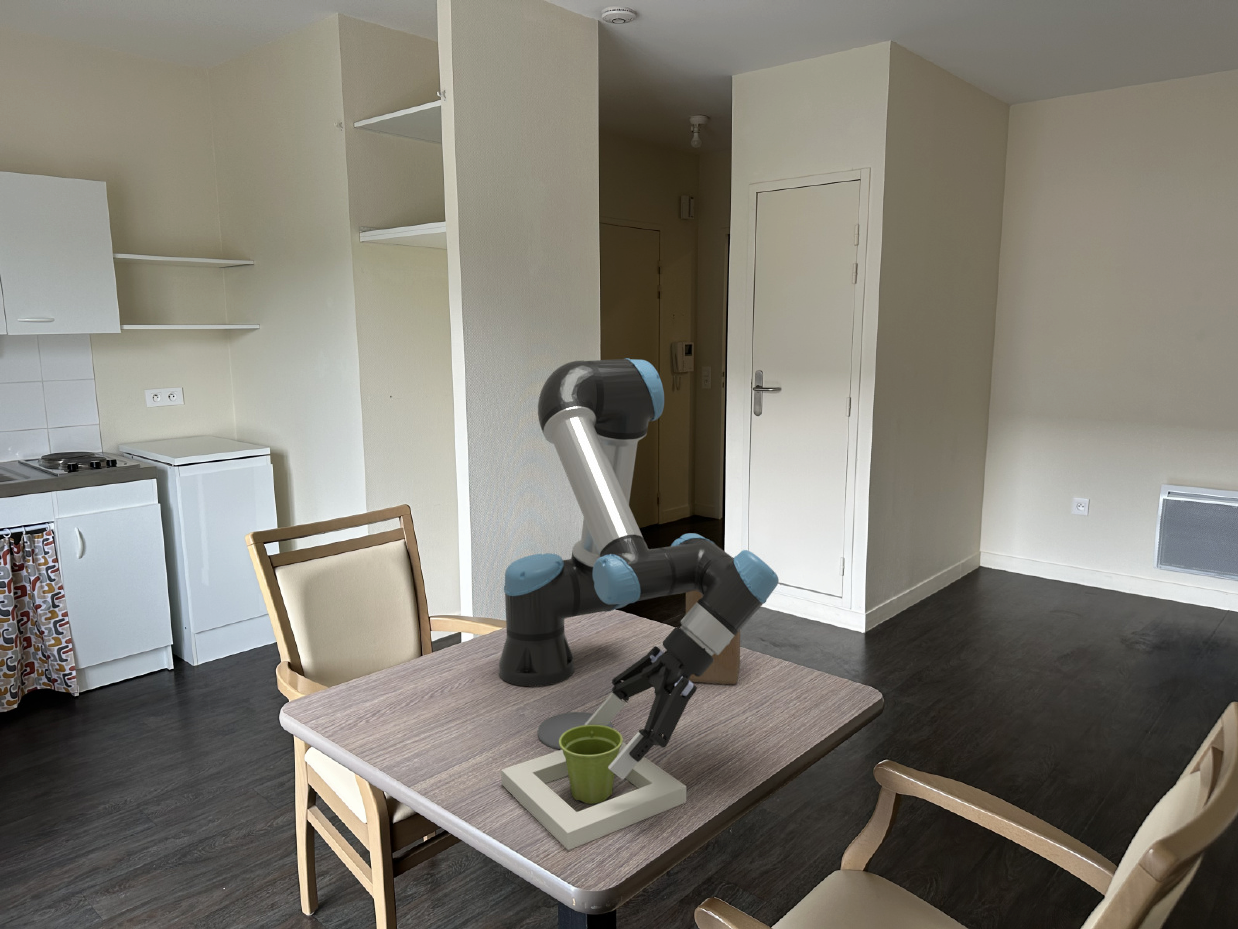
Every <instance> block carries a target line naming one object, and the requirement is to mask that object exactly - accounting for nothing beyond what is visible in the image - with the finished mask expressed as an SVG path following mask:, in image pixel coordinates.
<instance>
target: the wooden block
mask: <svg viewBox="0 0 1238 929" xmlns="http://www.w3.org/2000/svg"><path fill="white" fill-rule="evenodd" d="M702 596H703V595H702V594H701V593H700V592H698V591H691V592H686V593H685V615H686V614H687V613H688V612H689V611H690V609H691V608H692V607H693V606H694V605H695V604H696V602H697V603H698V600H699V599H700V598H701V597H702ZM698 604H699V603H698ZM699 605H700V604H699ZM732 634H733V633H732ZM733 635H734V634H733ZM712 657H713V658H714V659H713V663H712V664H711V665H710V666H709V667H708V668H707V670H706V671H705V672H704V673H703V674H702V675H701V676H700V677H697V676H695V675H694V674H692V675H691V676H690V678H689V681H690V682H692V683H706V684H721V685H735V684H736V683H737V682H738V678H739V673H740V671H739V670H740V666H741V629H740V630H739V632H738V633H737V634H736V635H734V637H733V638H732V640H731V641H730V644H729V645H727V646H726V647H725V648H724V649H723V650H722V652H721V653H720V654H719V655H716V654H713V655H712Z"/></svg>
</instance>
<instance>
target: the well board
mask: <svg viewBox="0 0 1238 929" xmlns="http://www.w3.org/2000/svg"><path fill="white" fill-rule="evenodd" d="M627 744H628V743H625V742H624V741H623V743H622V745H621V747H620V748H619V753H618V754H617V756H618V755H619V754H620V752H621V751H622V750H623V749H624V748H625V747H626V745H627ZM500 774H501V775H500V776H501V786H502V785H503V786H504V787H505V788H506V789H507V790H508V791H509V792H510V793H511V794H512V795H513V796H512V795H511V794H510V793H509V792H508V791H507V790H506V789H505V788H504V787H503V786H502V787H503V788H504V789H505V790H506V791H507V792H508V793H509V794H510V795H511V796H512V797H513V798H514V797H515V798H516V799H517V801H518V803H519V804H520V805H521V806H522V807H524V809H526V810H527V812H529V813H530V814H531V815H532V816H533V818H535V820H537V821H538V822H539V824H541V825H542V826H543V827H544V828H545V829H546V830H547V831H548V833H550V834H551V835H552V836H553V837H554V839H556V840H557V841H558V842H559V843H560V844H561V846H563V847H564V848H565V849H566V850H567V851H570V850H572V849H575V848H577V847H580V846H583V845H584V844H585V845H586V844H588V843H589V842H592V841H595V840H597V839H599V838H602V837H604V836H607V835H610V834H611V833H614V832H616V831H619V830H622V829H623V828H627V827H629V826H631V825H634V824H637V823H639V822H641V821H643V820H646V819H649V818H651V817H654V816H655V815H658V814H661V813H663V812H666V811H668V810H671V809H673V808H675V807H678V806H680V805H683V804H686V803H687V786H686V785H685V784H684V783H682V782H681V781H679V779H676V778H675V777H673V776H672V775H671V774H669V773H668V772H666V771H665V770H663V769H662V767H659V766H658V765H657V764H655V763H654V762H653V761H651V760H650V759H648V758H647V757H645V756H644V757H643V758H642V759H641V760H640V761H639V762H638V763H637V764H636V765H635V767H634V768H633V769H632V770H631V771H630V772H629V774H628V775H627V776H626V777H625V778H624V779H626V780H627V781H628V782H630V784H633V785H634V787H637V789H635V790H632V791H628V792H626V793H623V794H621V795H619V796H616V797H614V798H610V799H608V800H605V801H603V802H600V803H596V804H595V805H592V806H590V807H587V808H584V809H582V810H580V811H579V810H578V811H577V810H575V809H574V808H573V807H571V806H570V805H569V804H568V803H567V802H566V801H565V800H564V799H562V797H560V796H559V795H558V794H557V793H556V792H555V791H553V790H552V789H551V788H550V786H548V785H547V784H549V783H550V782H554V781H556V780H559V779H562V778H564V777H567V776H568V777H569V775H568V770H567V764H566V759H565V756H564V754H563V750H557V751H553V752H551V753H548V754H545V755H541V756H539V757H535V758H532V759H530V760H527V761H523V762H520V763H517V764H514V765H511V766H507V767H505V768H502V769H501V770H500ZM553 780H554V781H553ZM515 798H514V799H515ZM516 799H515V800H516Z"/></svg>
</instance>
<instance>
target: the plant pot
mask: <svg viewBox="0 0 1238 929" xmlns="http://www.w3.org/2000/svg"><path fill="white" fill-rule="evenodd" d="M623 742H624V740H623V735H622V733H620V732H619V731H618V730H617V729H615V728H614V729H613V728H610V727H607V726H603V725H583V726H578V727H575V728H572V729H569V730H568V731H566V732H565V733H563V734H562V735H561V737H560V739H559V745H560V747H561V749H562V750H563V754H564V756H565V759H566V764H567V770H568V780H569V787H570V791H571V792H570V793H571V796H572V797H573V799H574V800H576V801H581V802H583V803H584V804H588V805H589V804H590V805H591V804H592V805H593V804H600V803H602V802H605V801H607V799H608V798H609V797H610V796H612V795H613V788H614V781H615V775H616V774H615V773H613V772H612V771H611V770H609V768H608V766H609V765H610V764H611V763H612V762H613V761H614V759H615V758H616V757H617V754H618V753H619V748H620V747H621V745H622V743H623Z"/></svg>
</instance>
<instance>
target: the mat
mask: <svg viewBox="0 0 1238 929" xmlns="http://www.w3.org/2000/svg"><path fill="white" fill-rule="evenodd" d="M593 714H594V713H593V712H585V711H574V712H573V711H572V712H566V713H565V712H564V713H560V714H556V715H553V716H551V717H549V718H547V719H546V720H544V721H543V722H541V724H540V725H539V726H538V729H537V737H538V740H539V741H540V742H541V743H542V744H544V745H545V746H547V747H549V748H551V749H555V750H557V751H559V749H560V750H562V749H561V747H560V745H559V739H560V737H561V735H562V734H563V733H565V732H566V731H568V730H569V729H572V728H575V727H578V726H583V725H584V724H585V723H586V722H587V721H588V720H589V719H590V717H591V716H592V715H593ZM607 727H610V728H613V729H615V728H614V725H613V723H612V721H611V722H610V723H609V724H608V725H607Z"/></svg>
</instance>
